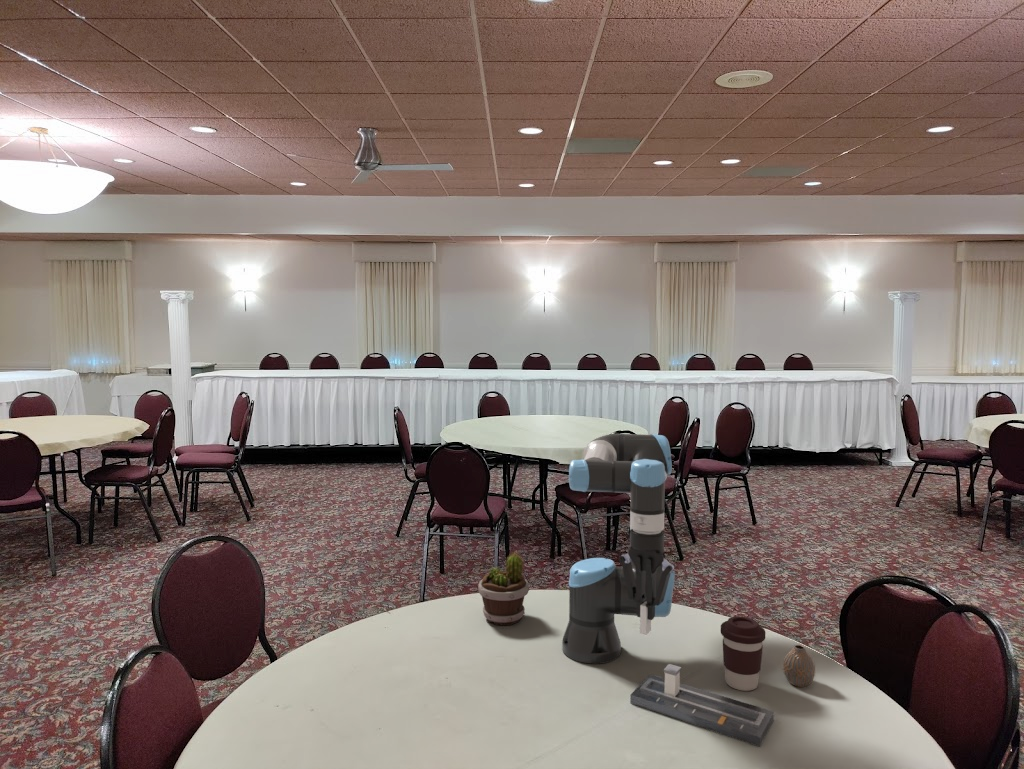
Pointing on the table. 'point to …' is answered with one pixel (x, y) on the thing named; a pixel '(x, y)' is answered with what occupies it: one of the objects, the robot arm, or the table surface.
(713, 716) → the console
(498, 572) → the flowerpot
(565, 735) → the table surface
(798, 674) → the vase
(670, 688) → the fader knob
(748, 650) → the coffee cup
